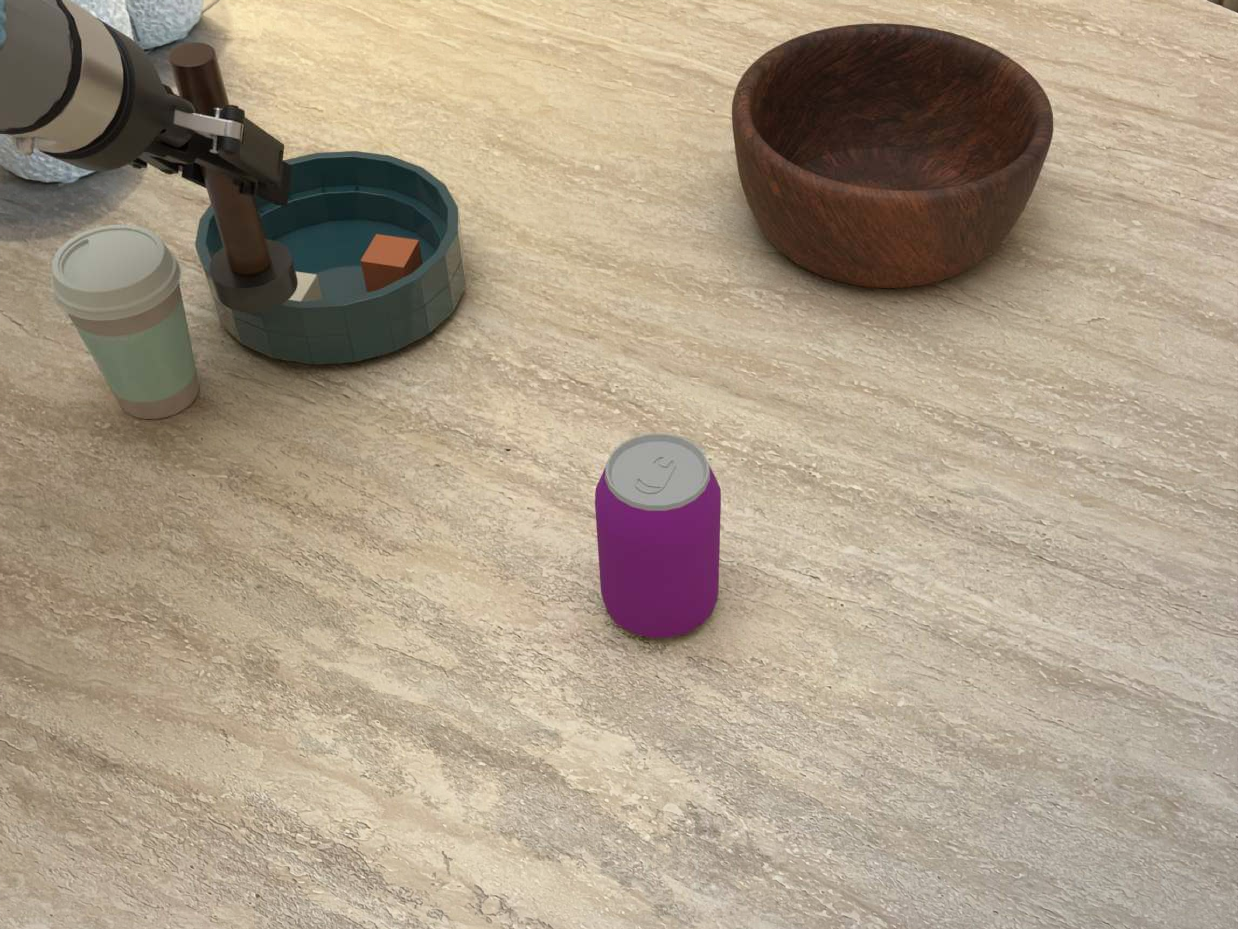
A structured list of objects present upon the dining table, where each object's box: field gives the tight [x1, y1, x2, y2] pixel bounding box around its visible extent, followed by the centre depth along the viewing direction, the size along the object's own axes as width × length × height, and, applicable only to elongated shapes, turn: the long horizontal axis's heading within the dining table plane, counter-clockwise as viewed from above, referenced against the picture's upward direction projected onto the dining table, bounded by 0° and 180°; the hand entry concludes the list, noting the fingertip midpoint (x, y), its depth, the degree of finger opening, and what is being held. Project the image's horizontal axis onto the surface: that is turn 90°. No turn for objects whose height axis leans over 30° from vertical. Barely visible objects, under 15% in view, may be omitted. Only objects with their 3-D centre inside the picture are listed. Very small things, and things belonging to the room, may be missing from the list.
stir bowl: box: [194, 150, 467, 365], centre depth 113 cm, size 20×20×6 cm
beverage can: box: [594, 432, 722, 639], centre depth 91 cm, size 8×8×12 cm
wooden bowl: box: [731, 22, 1054, 289], centre depth 118 cm, size 25×25×10 cm
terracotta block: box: [361, 234, 423, 293], centre depth 113 cm, size 4×4×4 cm
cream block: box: [288, 271, 323, 301], centre depth 111 cm, size 4×4×4 cm
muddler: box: [167, 41, 298, 312], centre depth 95 cm, size 6×6×17 cm
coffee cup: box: [50, 224, 200, 420], centre depth 103 cm, size 9×8×12 cm
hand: (259, 182), depth 99 cm, fingers closed on muddler, 3 cm apart
